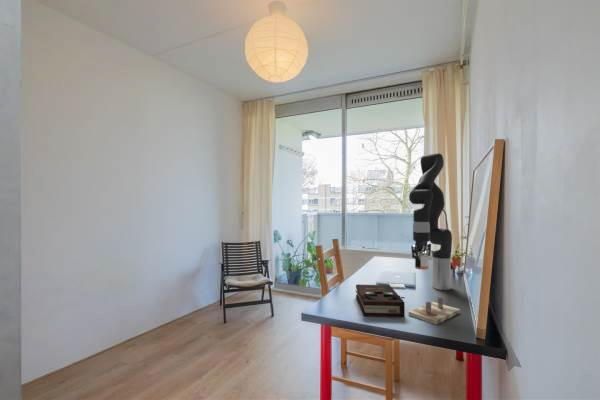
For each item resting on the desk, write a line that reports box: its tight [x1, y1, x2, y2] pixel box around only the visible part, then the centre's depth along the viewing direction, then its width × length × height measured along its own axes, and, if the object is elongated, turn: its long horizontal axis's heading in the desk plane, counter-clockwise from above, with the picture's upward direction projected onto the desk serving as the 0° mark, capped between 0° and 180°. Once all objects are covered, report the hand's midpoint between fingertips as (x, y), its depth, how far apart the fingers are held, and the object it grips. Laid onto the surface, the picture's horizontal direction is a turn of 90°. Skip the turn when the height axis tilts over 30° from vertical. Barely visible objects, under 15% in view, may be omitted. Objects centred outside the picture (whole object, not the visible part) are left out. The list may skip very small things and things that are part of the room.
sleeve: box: [414, 255, 430, 271], centre depth 138 cm, size 6×6×6 cm
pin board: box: [408, 296, 461, 325], centre depth 124 cm, size 20×12×6 cm, turn 127°
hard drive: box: [388, 283, 407, 290], centre depth 166 cm, size 2×8×12 cm
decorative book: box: [355, 284, 406, 318], centre depth 133 cm, size 19×8×30 cm
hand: (421, 266), depth 138 cm, fingers closed on sleeve, 5 cm apart
